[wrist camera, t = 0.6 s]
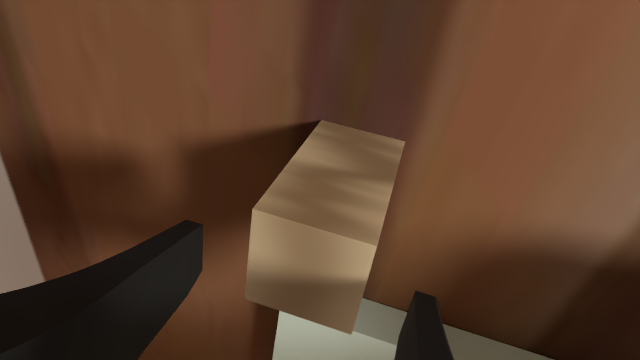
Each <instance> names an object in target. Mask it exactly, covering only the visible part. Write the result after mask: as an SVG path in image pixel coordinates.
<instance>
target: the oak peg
mask: <svg viewBox="0 0 640 360" xmlns="http://www.w3.org/2000/svg"><path fill="white" fill-rule="evenodd" d="M404 144H405V141H401V140H397V139H393V138H389V137H385V136H381V135H377V134H374V133H370V132H366V131H362V130H358V129H354V128H350V127H346V126H342V125H339V124H335V123H331V122H327V121H323V120H321V121H320V122H319V124H318V125H317V126H316V128H315V129H314V130H313V131H312V133H311V134H310V135H309V137H308V138H307V139H306V141H305V142H304V143H303V144H302V146H301V147H300V148H299V150H298V151H297V152H296V153H295V155H294V156H293V157H292V159H291V160H290V161H289V162H288V164H287V165H286V166H285V168H284V169H283V170H282V172H281V173H280V174H279V175H278V177H277V178H276V179H275V181H274V182H273V183H272V184H271V186H270V187H269V188H268V190H267V191H266V192H265V193H264V195H263V196H262V197H261V199H260V200H259V201H258V203H257V204H256V205H255V206H254V208H253V209H252V221H251V232H250V243H249V255H248V266H247V278H246V289H245V299H246V300H249V301H252V302H255V303H258V304H261V305H264V306H267V307H270V308H273V309H276V310H279V311H282V312H285V313H288V314H291V315H294V316H297V317H300V318H303V319H306V320H309V321H312V322H314V323H317V324H320V325H323V326H326V327H329V328H332V329H335V330H338V331H341V332H344V333H347V334H350V335H352V332H353V328H354V325H355V321H356V318H357V314H358V311H359V307H360V304H361V300H362V297H363V293H364V290H365V286H366V283H367V280H368V276H369V273H370V269H371V266H372V262H373V259H374V255H375V252H376V248H377V245H378V241H379V237H380V233H381V230H382V226H383V222H384V218H385V215H386V211H387V207H388V204H389V200H390V196H391V192H392V189H393V185H394V181H395V177H396V174H397V170H398V166H399V163H400V159H401V155H402V151H403V148H404Z"/></svg>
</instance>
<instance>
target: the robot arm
mask: <svg viewBox="0 0 640 360" xmlns="http://www.w3.org/2000/svg"><path fill="white" fill-rule="evenodd" d="M202 250H203V225H202V224H199V223H195V222H192V221H189V220H185V221H183V222H181V223H179V224H177V225H175V226H173V227H171V228H169V229H167V230H166V231H164V232H162V233H160V234H158V235H156V236H154V237H152V238H150V239H148V240H146V241H144V242H142V243H140V244H138V245H136V246H134V247H132V248H130V249H128V250H126V251H124V252H122V253H119V254H117V255H115V256H113V257H111V258H108V259H106V260H104V261H102V262H100V263H97V264H95V265H92V266H90V267H87V268H85V269H82V270H79V271H76V272H74V273H71V274H68V275H65V276H62V277H59V278H56V279H53V280H49V281H46V282H43V283H40V284H36V285H33V286H30V287H26V288H22V289H19V290H14V291H10V292H7V293H2V294H0V360H137V359H138V358H139V357H140V355H141V354H142V353H143V351H144V350H145V348H146V347H147V346H148V345H149V343H150V342H151V341H152V340H153V338H154V337H155V336H156V335H157V333H158V332H159V331H160V330H161V328H162V327H163V326H164V325H165V323H166V322H167V321H168V319H169V318H170V317H171V316H172V314H173V313H174V312H175V311H176V309H177V308H178V307H179V305H180V304H181V303H182V302H183V300H184V299H185V298H186V296H187V295H188V293H189V292H190V290H191V288H192V287H193V285H194V284H195V282H196V280H197V278H198V277H199V275H200V273H201V271H202ZM394 360H454V358H453V355H452V352H451V349H450V346H449V343H448V340H447V337H446V333H445V330H444V326H443V323H442V319H441V315H440V310H439V306H438V301H437V299H436V297H434V296H431V295H427V294H424V293H421V292H418V291H415V293H414V296H413V299H412V301H411V304H410V307H409V309H408V312H407V315H406V318H405V320H404V323H403V326H402V328H401V331H400V334H399V338H398V343H397V348H396V353H395V359H394Z"/></svg>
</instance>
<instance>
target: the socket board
mask: <svg viewBox="0 0 640 360" xmlns="http://www.w3.org/2000/svg"><path fill="white" fill-rule="evenodd" d="M406 315H407V312H405V311H402V310H398V309H395V308H392V307H389V306H386V305H383V304H380V303H377V302H374V301H370V300H367V299H364V298H362V300H361V304H360V307H359V311H358V314H357V318H356V321H355V325H354V328H353V332H352V335H350V334H347V333H344V332H341V331H338V330H335V329H332V328H329V327H326V326H323V325H320V324H317V323H314V322H312V321H309V320H306V319H303V318H300V317H297V316H294V315H291V314H288V313H285V312H282V311H279V318H278V325H277V331H276V338H275V345H274V351H273V358H272V360H394V359H395V353H396V348H397V343H398V338H399V334H400V331H401V328H402V326H403V323H404V320H405V318H406ZM443 326H444V330H445V333H446V337H447V340H448V343H449V346H450V349H451V352H452V355H453V358H454V360H554V359H551V358H548V357H545V356H542V355H538V354H535V353H532V352H529V351H526V350H523V349H520V348H517V347H514V346H510V345H507V344H504V343H501V342H498V341H495V340H492V339H489V338H486V337H482V336H479V335H476V334H473V333H470V332H467V331H464V330H461V329H458V328H454V327H451V326H448V325H445V324H443Z"/></svg>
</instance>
